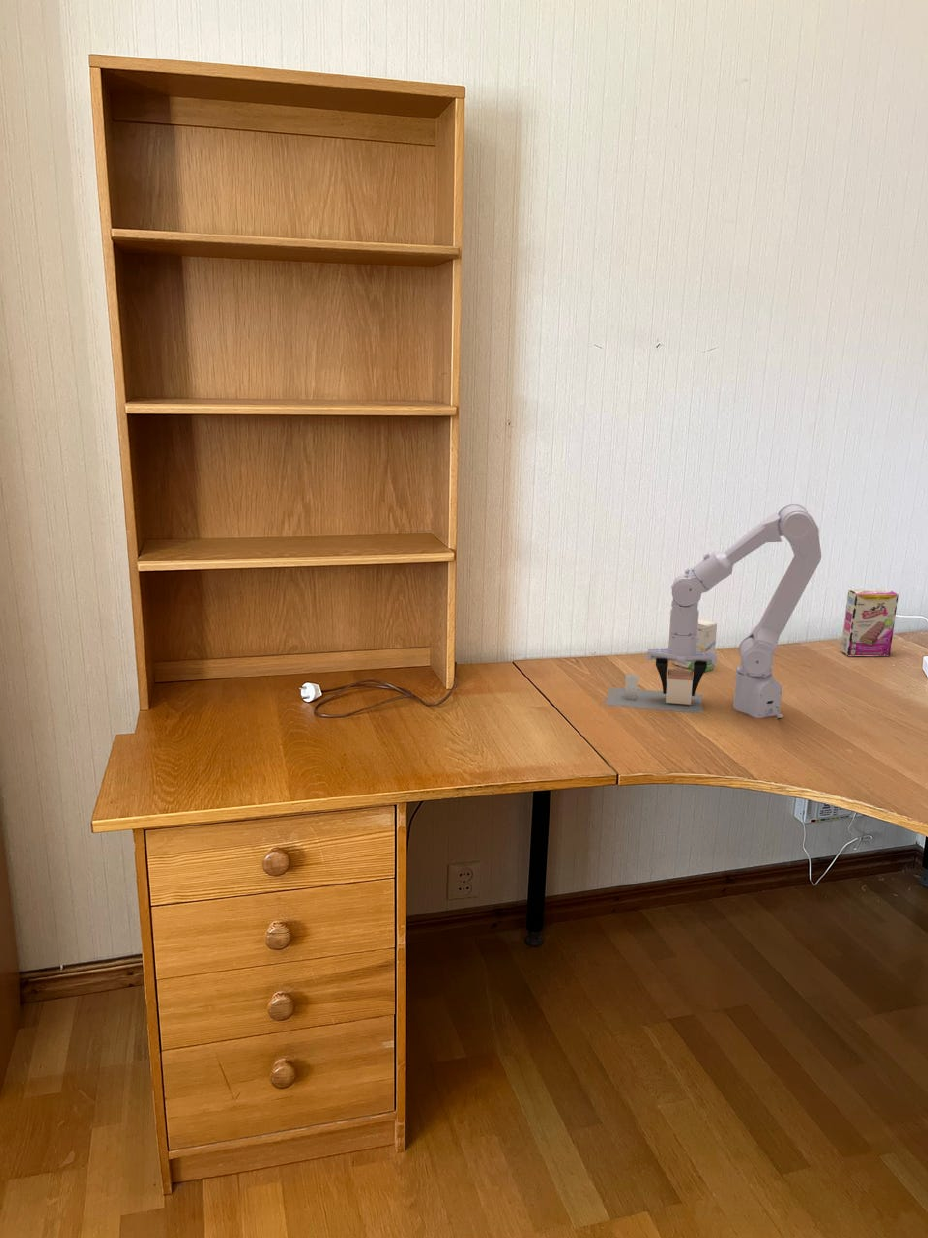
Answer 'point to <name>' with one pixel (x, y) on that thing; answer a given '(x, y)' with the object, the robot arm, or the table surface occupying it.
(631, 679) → the post
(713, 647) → the ink box
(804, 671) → the table surface
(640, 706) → the board
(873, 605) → the candy bar box
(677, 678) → the peach bevelled cube
